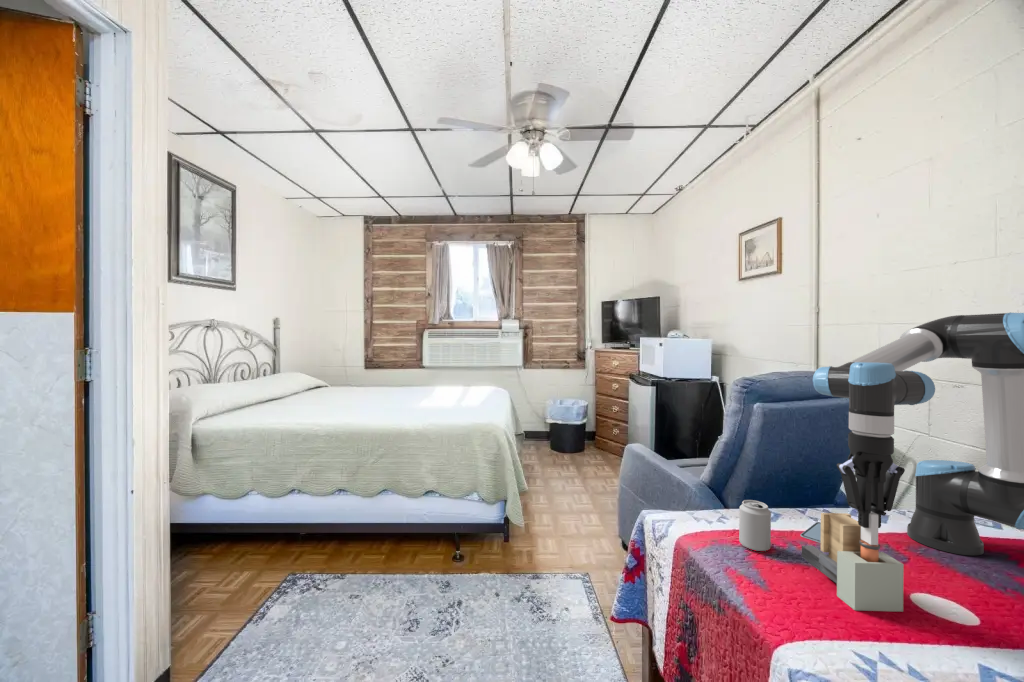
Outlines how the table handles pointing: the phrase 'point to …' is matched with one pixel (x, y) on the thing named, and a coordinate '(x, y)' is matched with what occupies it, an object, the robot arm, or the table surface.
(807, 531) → the smartphone
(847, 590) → the grey hollow block
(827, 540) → the carriage
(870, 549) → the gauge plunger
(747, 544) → the can
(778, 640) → the table surface
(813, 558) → the rail
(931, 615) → the table surface
